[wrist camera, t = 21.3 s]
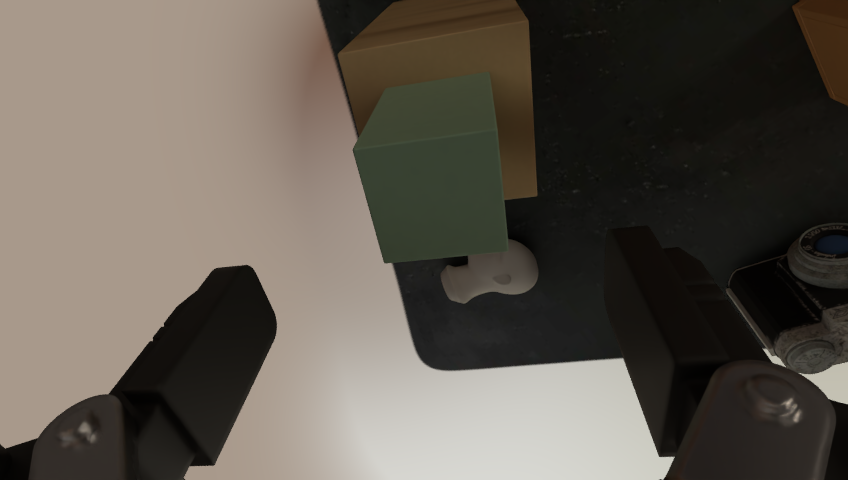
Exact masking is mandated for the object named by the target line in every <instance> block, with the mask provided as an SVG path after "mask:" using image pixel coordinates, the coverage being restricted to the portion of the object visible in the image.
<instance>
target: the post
mask: <svg viewBox="0 0 848 480" xmlns="http://www.w3.org/2000/svg"><path fill="white" fill-rule="evenodd" d="M338 58H339V62H340V65H341V69H342V73H343V77H344V80H345V84H346V88H347V92H348V95H349V99H350V103H351V107H352V111H353V114H354V118H355V122H356V126H357V129H358V133H359V137H360V135H361V133H362V131H363V129H364V127H365V125H366V124H367V122H368V120H369V118H370V116H371V114H372V112H373V111H374V109H375V107H376V105H377V103H378V101H379V99H380V98H381V96H382V94H383V92H384V90H385V89H386V88H390V87H396V86H402V85H409V84H415V83H421V82H427V81H434V80H440V79H446V78H452V77H458V76H465V75H471V74H477V73H483V72H489V73H490V79H491V86H492V94H493V101H494V108H495V115H496V123H497V130H498V140H499V151H500V161H501V172H502V183H503V193H504V200H507V199H516V198H525V197H533V196H537V181H536V161H535V141H534V121H533V102H532V82H531V62H530V42H529V22H528V20H527V18H526V16H525V15H524V13H523V12H522V10H521V9H520V7H519V6H518V4H517V3H516V1H515V0H402V1H397V2H393V3H392V4H391V5H390V6H389V7H388V8H387V9H386V10H385V11H383V12H382V13H381V14H380V15H379V16H378V17H377V18H376V19H375V20H374V21H373V22H372V23H371V24H369V25H368V26H367V27H366V28H365V29H364V30H363V31H362V32H361V33H360V34H359V35H358V36H357V37H355V38H354V39H353V40H352V41H351V42H350V43H349V44H348V45H347V46H346V47H345V48H344V49H343V50H341V51H340V52H339V53H338Z"/></svg>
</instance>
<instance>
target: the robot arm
mask: <svg viewBox="0 0 848 480" xmlns="http://www.w3.org/2000/svg"><path fill="white" fill-rule="evenodd" d="M604 298H605V305H606V310H607V314H608V317H609V320H610V323H611V326H612V328H613V331H614V334H615V337H616V339H617V342H618V345H619V348H620V350H621V353H622V356H623V359H624V361H625V364H626V367H627V370H628V372H629V375H630V378H631V381H632V383H633V386H634V389H635V391H636V394H637V397H638V400H639V403H640V405H641V408H642V411H643V414H644V416H645V419H646V422H647V425H648V427H649V430H650V433H651V436H652V438H653V441H654V444H655V446H656V450H657V452H658V455H659V457H675V458H674V460H673V462H672V465H671V467H670V469H669V471H668V473H667V475H666V477H665V478H664V480H848V404H844V403H839V402H836V401H832V400H830V399H828V398H827V397H826V395H825V394H824V393H823V392H822V391H821V390H820V389H819V388H818V387H817V386H816V385H815V384H814V383H812V382H811V381H810V380H808V379H807V378H805V377H804V376H802V375H801V374H799V373H797V372H795V371H793V370H791V369H788V368H786V367H783V366H781V365H777V364H774V363H772V362H771V360H770V359H769V358H768V356H767V355H766V353H765V352H764V350H763V349H762V348H761V346H760V345H759V343H758V342H757V341H756V339H755V338H754V336H753V335H752V333H751V332H750V331H749V329H748V328H747V326H746V325H745V323H744V322H743V321H742V319H741V318H740V316H739V315H738V314H737V312H736V311H735V309H734V308H733V306H732V305H731V304H730V302H729V301H728V300H725V295H724V294H723V292H722V291H721V289H720V288H719V287H718V285H717V284H714V280H713V278H712V277H711V275H710V274H709V272H708V271H707V270H706V268H705V267H704V265H703V264H702V263H701V261H699V260H697V259H696V258H694V257H693V256H691V255H690V254H688V253H687V252H685V251H684V250H682V249H681V248H679V247H676V248H665V249H663V248H662V247H661V245H660V244H659V242H658V240H657V239H656V237H655V235H654V234H653V232H652V231H651V229H650V228H649V227H648V226H637V227H627V228H617V229H609V230H608V231H607V234H606V248H605V271H604ZM276 330H277V322H276V316H275V313H274V311H273V309H272V307H271V304H270V302H269V300H268V298H267V296H266V294H265V292H264V290H263V288H262V285H261V283H260V281H259V279H258V277H257V275H256V273H255V271H254V270H253V268H252V267H250V266H248V265H242V266H232V267H222V268H216V269H214V270H213V271H212V272H211V273H210V274H209V276H208V277H207V278H206V280H205V281H204V282H203V284H202V285H201V286H200V287H199V289H198V290H197V291H196V292H195V293H193V294H192V295H191V296H189V297H188V298H187V299H186V300H184V301H183V302H182V303H181V304H179V305H178V306H177V307H176V308H175V310H174V311H173V312H172V314H171V315H170V316H169V317H168V319H167V320H166V321H165V323H164V327H161V328H160V329H159V330H158V332H157V333H156V334H155V335H154V337H153V341H150V342H149V343H148V344H147V346H146V347H145V348H144V349H143V351H142V352H141V353H140V355H139V356H138V357H137V358H136V360H135V361H134V362H133V364H132V365H131V366H130V367H129V369H128V370H127V371H126V372H125V374H124V375H123V376H122V378H121V379H120V380H119V381H118V383H117V384H116V385H115V387H114V388H113V389H112V390H111V392H110V393H109V394H108V395H106V394H105V395H98V396H94V397H90V398H88V399H85V400H83V401H81V402H79V403H77V404H75V405H73V406H71V407H70V408H68V409H67V410H65V411H64V412H63V413H62V414H60V415H59V416H57V417H56V418H55V419H54V420H53V421H52V422H51V423H50V424H49V425H48V426H47V427H46V428H45V429H44V431H43V432H42V433H41V434H40V436H39V437H38V438H37V439H34V440H31V441H28V442H25V443H21V444H18V445H15V446H12V447H9V448H6V449H5V448H4V447H2V446H1V445H0V480H185V479H184V476H185V474H186V472H187V470H188V468H189V466H209V465H210V466H213V465H215V463H216V461H217V458H218V456H219V454H220V452H221V450H222V448H223V446H224V444H225V442H226V440H227V438H228V435H229V433H230V431H231V429H232V427H233V425H234V423H235V421H236V419H237V416H238V414H239V412H240V410H241V408H242V406H243V404H244V402H245V400H246V398H247V396H248V394H249V392H250V389H251V387H252V385H253V383H254V381H255V379H256V377H257V375H258V373H259V371H260V369H261V366H262V364H263V362H264V360H265V358H266V356H267V354H268V352H269V349H270V348H271V345H272V343H273V341H274V339H275V336H276ZM660 480H661V479H660Z"/></svg>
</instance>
